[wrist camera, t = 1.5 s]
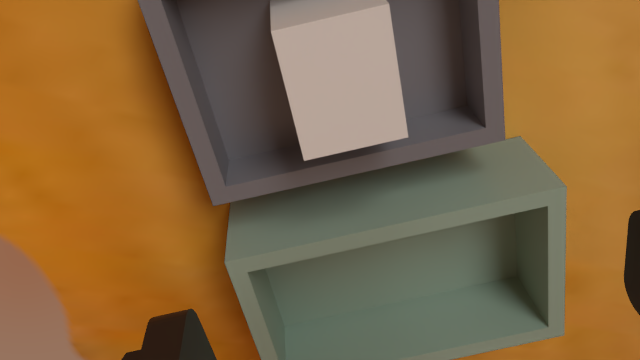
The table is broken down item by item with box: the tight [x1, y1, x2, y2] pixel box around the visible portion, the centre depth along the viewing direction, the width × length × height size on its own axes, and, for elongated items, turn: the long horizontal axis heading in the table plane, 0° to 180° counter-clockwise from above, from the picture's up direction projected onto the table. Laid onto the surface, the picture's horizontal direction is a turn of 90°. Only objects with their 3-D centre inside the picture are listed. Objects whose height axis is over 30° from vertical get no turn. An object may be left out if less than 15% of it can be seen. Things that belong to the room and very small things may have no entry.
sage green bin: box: [224, 136, 567, 360], centre depth 29 cm, size 15×9×5 cm, turn 102°
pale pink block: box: [270, 0, 408, 161], centre depth 22 cm, size 4×5×5 cm
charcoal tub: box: [138, 0, 505, 206], centre depth 23 cm, size 13×10×4 cm
